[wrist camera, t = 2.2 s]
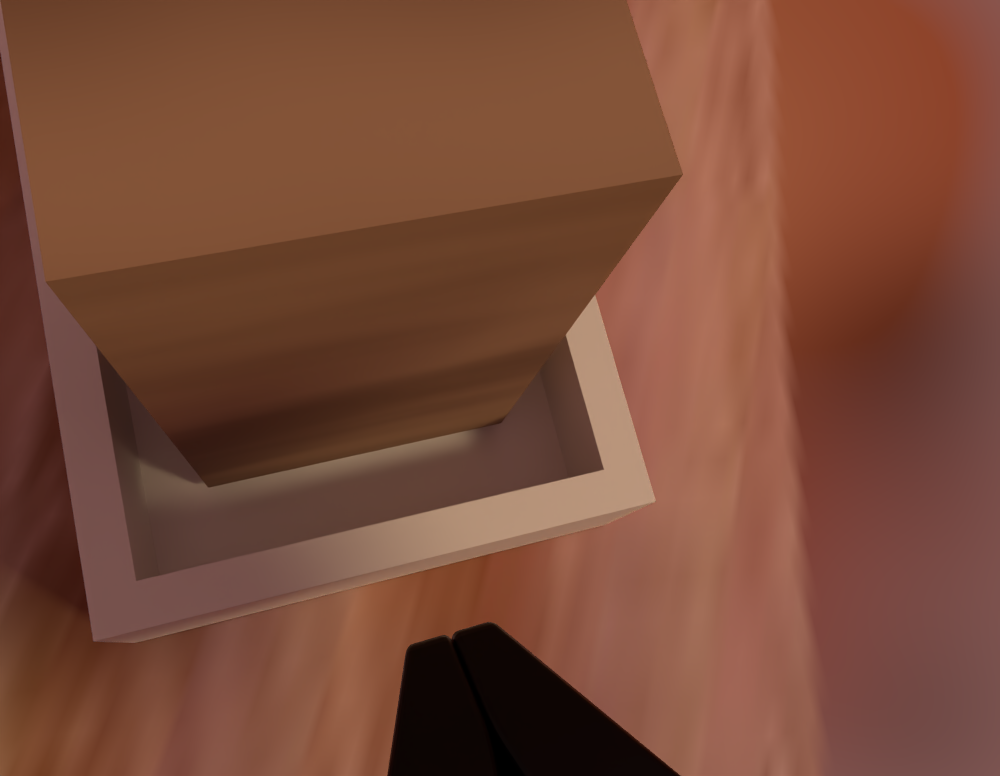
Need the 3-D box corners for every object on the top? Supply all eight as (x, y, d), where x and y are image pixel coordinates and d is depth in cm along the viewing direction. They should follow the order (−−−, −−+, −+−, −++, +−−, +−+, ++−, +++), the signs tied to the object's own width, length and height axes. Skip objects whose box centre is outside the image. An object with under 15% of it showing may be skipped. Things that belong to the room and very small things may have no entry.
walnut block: (500, 422, 20) (682, 174, 10) (208, 487, 19) (45, 280, 8) (444, 207, 21) (551, -230, 11) (163, 254, 20) (-31, -192, 9)
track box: (605, 524, 21) (655, 501, 18) (136, 642, 19) (93, 641, 16) (391, -238, 26) (399, -370, 22) (-8, -214, 23) (-65, -356, 20)
